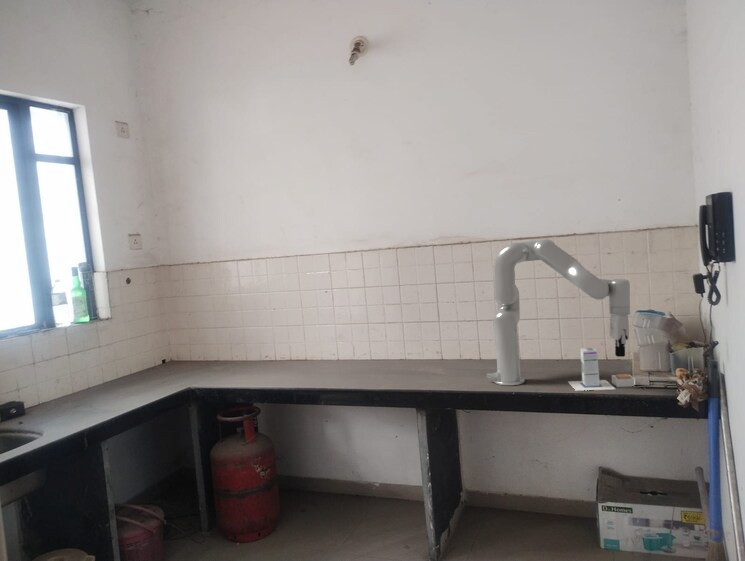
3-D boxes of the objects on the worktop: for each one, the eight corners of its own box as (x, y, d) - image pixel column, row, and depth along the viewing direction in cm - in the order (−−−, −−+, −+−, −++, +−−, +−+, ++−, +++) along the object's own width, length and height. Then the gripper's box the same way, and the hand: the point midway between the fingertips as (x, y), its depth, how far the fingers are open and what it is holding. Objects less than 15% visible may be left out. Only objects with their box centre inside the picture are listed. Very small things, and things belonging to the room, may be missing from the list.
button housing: (617, 387, 220) (616, 379, 219) (612, 382, 227) (611, 375, 226) (635, 386, 219) (635, 378, 219) (630, 381, 226) (629, 374, 225)
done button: (619, 383, 221) (619, 376, 221) (616, 380, 225) (616, 374, 225) (630, 382, 220) (630, 376, 220) (627, 380, 224) (627, 373, 224)
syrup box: (600, 386, 221) (598, 350, 220) (584, 386, 222) (582, 351, 221) (596, 382, 227) (594, 347, 226) (581, 383, 228) (579, 348, 227)
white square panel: (575, 391, 218) (575, 390, 218) (568, 382, 232) (568, 381, 232) (615, 389, 216) (615, 388, 216) (605, 380, 230) (605, 379, 230)
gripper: (604, 308, 229) (605, 352, 230) (615, 313, 214) (615, 360, 215) (623, 307, 228) (624, 352, 229) (635, 312, 213) (636, 360, 214)
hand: (620, 356), depth 222 cm, fingers closed
